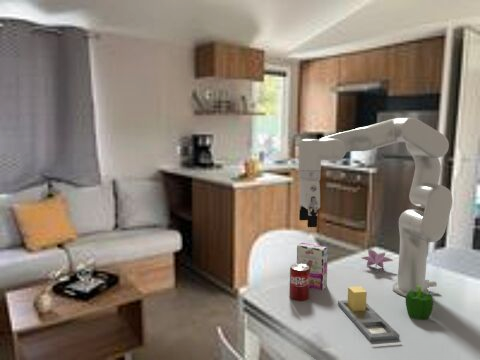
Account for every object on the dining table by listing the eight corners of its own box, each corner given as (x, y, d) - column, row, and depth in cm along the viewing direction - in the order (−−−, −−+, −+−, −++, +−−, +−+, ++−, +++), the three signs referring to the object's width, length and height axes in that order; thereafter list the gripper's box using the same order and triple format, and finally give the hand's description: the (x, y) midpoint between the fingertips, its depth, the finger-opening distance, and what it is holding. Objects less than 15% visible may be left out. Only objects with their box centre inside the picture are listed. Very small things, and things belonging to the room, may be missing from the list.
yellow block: (359, 306, 135) (360, 286, 134) (365, 313, 131) (366, 291, 130) (347, 307, 135) (348, 287, 134) (352, 313, 130) (353, 292, 129)
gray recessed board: (362, 304, 138) (362, 299, 138) (399, 341, 115) (399, 335, 115) (337, 306, 137) (338, 300, 137) (370, 343, 114) (370, 337, 113)
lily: (396, 274, 169) (394, 252, 173) (383, 270, 161) (382, 247, 165) (370, 276, 177) (369, 255, 181) (357, 272, 169) (356, 250, 173)
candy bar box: (327, 287, 153) (328, 246, 151) (322, 291, 149) (323, 250, 147) (301, 280, 159) (302, 241, 157) (295, 284, 155) (296, 244, 153)
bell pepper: (430, 325, 124) (432, 295, 123) (402, 318, 128) (404, 289, 127) (433, 314, 131) (435, 286, 130) (407, 308, 136) (409, 281, 134)
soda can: (309, 303, 139) (310, 271, 137) (288, 301, 140) (289, 269, 139) (309, 295, 146) (310, 264, 144) (290, 293, 148) (290, 262, 146)
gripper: (328, 178, 127) (326, 229, 129) (312, 172, 144) (310, 217, 146) (306, 178, 126) (304, 230, 128) (292, 172, 143) (290, 217, 145)
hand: (307, 223), depth 137 cm, fingers open, 9 cm apart
